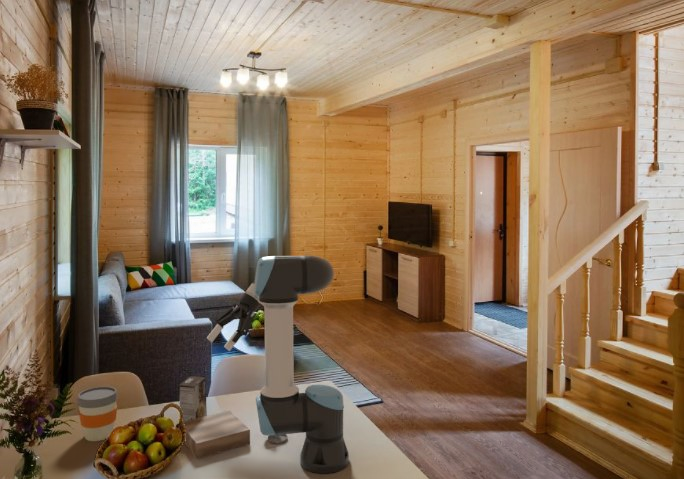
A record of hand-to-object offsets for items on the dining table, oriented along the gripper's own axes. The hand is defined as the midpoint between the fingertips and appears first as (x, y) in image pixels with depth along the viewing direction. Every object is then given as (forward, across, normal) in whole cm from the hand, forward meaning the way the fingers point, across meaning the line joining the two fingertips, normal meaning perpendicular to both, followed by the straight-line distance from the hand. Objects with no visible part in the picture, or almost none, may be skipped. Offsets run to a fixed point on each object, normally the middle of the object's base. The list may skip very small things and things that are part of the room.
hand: (217, 344), depth 196 cm
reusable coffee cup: (+47, +13, +8) cm, 49 cm away
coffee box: (+27, 0, -13) cm, 30 cm away
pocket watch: (+15, -28, -24) cm, 40 cm away
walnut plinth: (+26, -16, -12) cm, 33 cm away
